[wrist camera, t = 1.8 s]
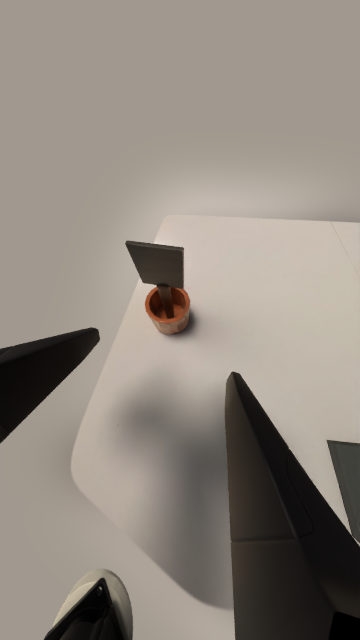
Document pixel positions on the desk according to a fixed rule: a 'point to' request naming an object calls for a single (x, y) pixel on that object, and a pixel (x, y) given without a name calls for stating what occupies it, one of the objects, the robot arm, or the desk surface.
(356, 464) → the mat
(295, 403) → the desk surface
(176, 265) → the spatula
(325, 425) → the desk surface
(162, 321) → the crock
